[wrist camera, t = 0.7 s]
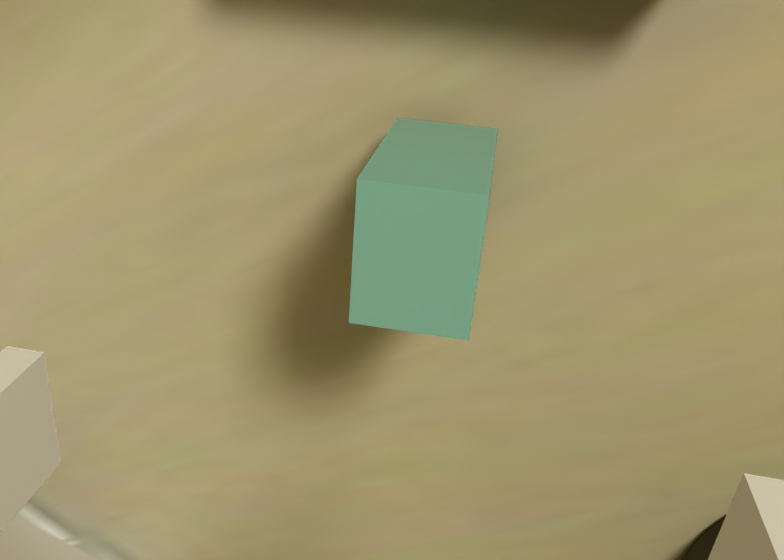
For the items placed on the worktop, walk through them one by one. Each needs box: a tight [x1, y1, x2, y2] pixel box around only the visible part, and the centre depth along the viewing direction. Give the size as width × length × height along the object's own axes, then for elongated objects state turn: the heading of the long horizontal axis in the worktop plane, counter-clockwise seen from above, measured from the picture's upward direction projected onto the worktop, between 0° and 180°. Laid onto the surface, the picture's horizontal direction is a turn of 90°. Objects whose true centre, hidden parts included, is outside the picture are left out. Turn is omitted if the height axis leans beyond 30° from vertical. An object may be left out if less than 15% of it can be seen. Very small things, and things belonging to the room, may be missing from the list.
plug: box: [349, 118, 498, 341], centre depth 27 cm, size 5×4×9 cm
